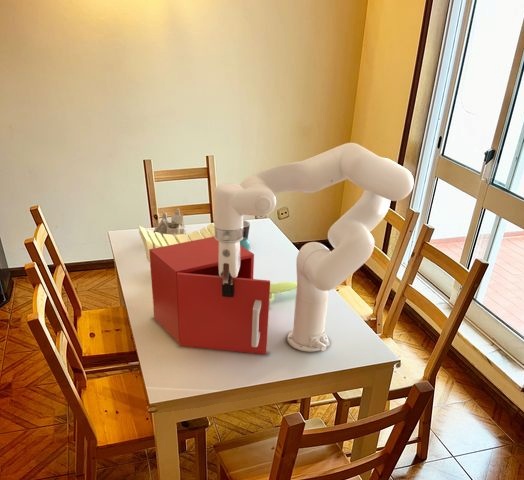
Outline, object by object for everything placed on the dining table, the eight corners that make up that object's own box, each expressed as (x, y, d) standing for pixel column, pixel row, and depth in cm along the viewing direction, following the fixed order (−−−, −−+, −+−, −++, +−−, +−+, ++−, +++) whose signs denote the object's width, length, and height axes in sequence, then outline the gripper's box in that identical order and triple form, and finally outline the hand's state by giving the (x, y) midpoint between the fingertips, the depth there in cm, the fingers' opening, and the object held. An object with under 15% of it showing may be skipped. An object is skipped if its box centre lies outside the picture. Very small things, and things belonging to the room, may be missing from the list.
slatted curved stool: (150, 289, 196) (147, 242, 186) (142, 271, 208) (138, 225, 199) (231, 279, 206) (231, 233, 196) (218, 262, 218) (218, 218, 208)
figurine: (321, 315, 185) (323, 300, 182) (242, 309, 186) (243, 294, 183) (320, 290, 201) (322, 276, 198) (247, 285, 202) (248, 271, 199)
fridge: (251, 323, 179) (254, 254, 166) (179, 344, 167) (175, 271, 154) (223, 300, 192) (223, 234, 178) (154, 318, 179) (149, 249, 166)
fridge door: (263, 365, 159) (267, 291, 146) (175, 356, 161) (171, 283, 148) (266, 352, 164) (270, 280, 152) (180, 344, 166) (177, 272, 154)
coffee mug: (248, 250, 229) (249, 227, 224) (228, 249, 229) (228, 226, 224) (249, 240, 239) (250, 217, 234) (229, 239, 239) (230, 217, 233)
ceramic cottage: (157, 236, 238) (156, 202, 229) (194, 241, 236) (194, 208, 227) (144, 251, 225) (141, 217, 216) (182, 258, 223) (182, 223, 214)
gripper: (239, 244, 138) (238, 309, 148) (246, 223, 151) (244, 283, 161) (209, 242, 139) (210, 307, 149) (219, 221, 152) (219, 282, 162)
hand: (228, 294), depth 155 cm, fingers closed
